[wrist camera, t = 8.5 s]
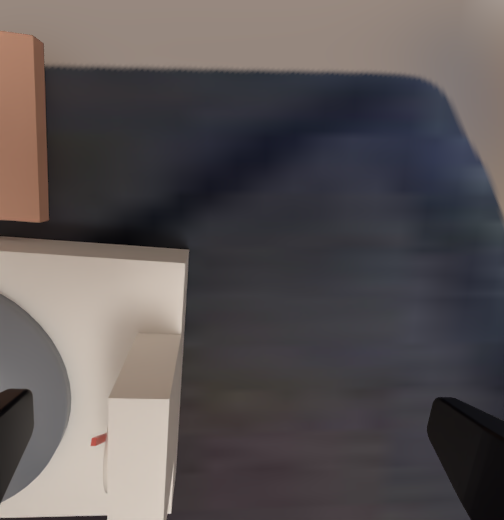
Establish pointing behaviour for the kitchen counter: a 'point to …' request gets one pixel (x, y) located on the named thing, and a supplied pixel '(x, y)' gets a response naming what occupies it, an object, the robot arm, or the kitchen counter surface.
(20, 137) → the rubber mat
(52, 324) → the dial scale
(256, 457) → the kitchen counter surface
